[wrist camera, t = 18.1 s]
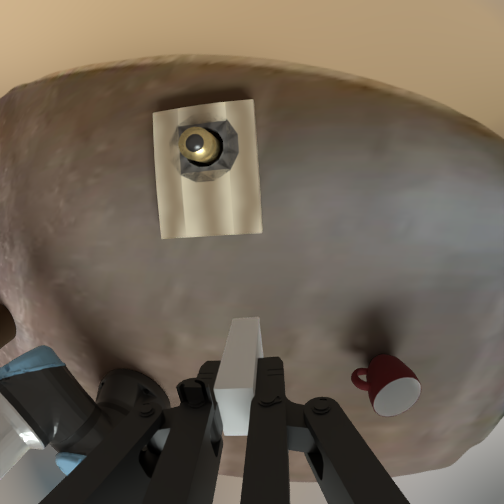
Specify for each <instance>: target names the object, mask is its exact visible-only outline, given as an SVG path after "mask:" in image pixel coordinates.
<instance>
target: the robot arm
mask: <svg viewBox="0 0 504 504" xmlns="http://www.w3.org/2000/svg"><path fill="white" fill-rule="evenodd" d="M176 388H177V391H178V395H179V398H180V401H181V403H180V406H178V407H174V408H171V406H170V402H169V400H168V398H167V396H166V394H165V393H164V391H163V390H162V389H161V388H160V387H159V386H158V385H157V384H156V383H155V382H154V381H152V380H151V379H150V378H148V377H146V376H145V375H143V374H141V373H138V372H136V371H133V370H129V369H115V370H112V371H110V372H109V373H108V374H107V375H106V376H105V377H104V378H103V380H102V381H101V383H100V385H99V389H98V393H97V397H96V402H94V400H93V399H92V398H91V397H90V396H89V395H88V394H87V392H86V391H85V390H84V389H83V388H82V386H81V385H80V384H79V383H78V381H77V380H76V379H75V377H74V376H73V375H72V374H71V372H70V371H69V370H68V368H67V367H66V364H65V363H63V362H62V361H61V360H60V359H59V357H58V356H57V355H56V353H55V352H54V351H53V350H52V349H51V348H50V347H48V346H45V345H42V346H38V347H36V348H34V349H32V350H30V351H28V352H26V353H24V354H23V355H21V356H19V357H17V358H16V359H14V360H12V361H11V362H9V363H8V364H6V365H4V366H3V367H1V368H0V480H1V479H2V478H3V477H4V476H5V474H6V473H7V472H8V471H9V470H10V469H11V468H12V467H13V466H14V465H15V464H16V463H17V461H18V460H19V459H20V458H21V457H22V456H23V455H24V454H25V453H26V452H27V451H28V450H29V449H31V448H34V449H44V448H45V447H46V446H47V445H48V444H50V445H51V446H52V447H53V448H54V449H55V450H56V451H57V452H58V453H57V455H56V460H55V461H56V464H57V465H58V467H59V469H60V470H61V471H62V472H64V473H65V474H66V475H67V476H66V477H65V478H64V479H63V480H62V481H61V482H60V483H59V484H58V485H57V486H56V487H55V488H54V489H53V490H52V491H51V492H50V493H49V494H48V495H47V496H46V497H45V498H44V499H43V500H42V501H41V502H40V503H39V504H212V502H213V497H214V492H215V486H216V481H217V476H218V470H219V465H220V459H221V453H222V448H223V440H222V436H221V435H222V430H223V431H224V435H225V436H239V435H248V436H247V446H246V456H245V465H244V474H243V483H242V492H241V502H240V504H290V484H289V456H288V453H289V452H288V450H293V451H299V452H304V454H305V456H306V459H307V461H308V463H309V465H310V467H311V469H312V471H313V473H314V476H315V478H316V480H317V482H318V484H319V486H320V488H321V490H322V492H323V494H324V496H325V498H326V501H327V503H328V504H410V503H409V501H408V500H407V499H406V498H405V496H404V495H403V494H402V492H401V491H400V489H399V488H398V486H397V485H396V484H395V482H394V481H393V480H392V478H391V477H390V475H389V474H388V473H387V471H386V470H385V469H384V467H383V466H382V464H381V463H380V462H379V460H378V459H377V457H376V456H375V455H374V453H373V452H372V451H371V449H370V448H369V446H368V445H367V444H366V442H365V441H364V439H363V438H362V437H361V435H360V434H359V432H358V431H357V430H356V428H355V427H354V425H353V424H352V422H351V421H350V420H349V418H348V417H347V415H346V414H345V413H344V411H343V410H342V408H341V407H340V405H339V404H338V403H337V402H336V401H335V400H334V399H331V398H329V397H317V398H314V399H311V400H309V401H308V402H307V403H306V404H305V405H302V404H296V403H293V402H291V401H290V400H288V399H287V397H286V396H285V382H284V369H283V361H282V360H281V359H280V358H279V357H266V358H263V349H262V340H261V331H260V322H259V317H248V318H234V319H232V323H231V327H230V330H229V334H228V338H227V341H226V345H225V348H224V352H223V356H222V359H221V361H206V362H205V363H204V364H203V365H202V366H201V368H200V370H199V374H198V376H197V378H189V379H186V380H183V381H182V382H180V383H179V384H178V385H177V387H176ZM145 445H146V446H145Z"/></svg>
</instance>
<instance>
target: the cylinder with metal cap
mask: <svg viewBox="0 0 504 504" xmlns="http://www.w3.org/2000/svg"><path fill="white" fill-rule="evenodd" d="M178 146H179V150H180V152H181V154H182V155H183V156H184V157H186V158H188V159H191V160H195V161H198V162H202V163H206V164H211V163H214V162H216V161H217V160H218V159H219V158H220V156H221V154H222V152H223V147H222V144H221V142H220V141H219V140H218V139H217V138H216V137H214V136H213V135H212V134H210V133H209V132H208V131H207V130H205V129H204V128H201V127H191V128H188V129H187V130H185V131H184V132H183V133H182V134H181V136H180V138H179V143H178Z"/></svg>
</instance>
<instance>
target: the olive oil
mask: <svg viewBox="0 0 504 504" xmlns="http://www.w3.org/2000/svg"><path fill="white" fill-rule="evenodd" d="M15 335H16V326H15V323H14V320H13V318H12V316H11V314H10V312H9V311H8V309H7V308H6V307H5V306H4V305H2V304H0V349H1V348H2V347H3V346H4V345H6V344H7V343H8V342H10V341H11V340H12V339H13V338H14V337H15Z"/></svg>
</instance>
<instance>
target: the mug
mask: <svg viewBox="0 0 504 504" xmlns="http://www.w3.org/2000/svg"><path fill="white" fill-rule="evenodd" d="M358 375H366V378H367V382H365V381H363V380H361V379H360V378H359V377H358ZM351 380H352V382H353V384H354V385H355V386H356V387H357V388H359V389H361V390H366V391H368V394H369V399H370V402H371V404H372V407H373V409H374V411H375V412H376V413H377V414H378V415H380V416H384V417H392V416H396V415H399V414H401V413H403V412H405V411H407V410H408V409H409V408H411V407H412V406H413V405H414V404H415V403H416V401H417V400H418V398H419V396H420V394H421V384H420V382H419V380H418V378H417V377H416V375H415V374H414V372H413V371H412V370H411V369H410V368H409V367H407V366H406V365H405V364H404V363H403V362H402V361H401V360H399V359H398V358H397V357H395V356H391V355H386V354H381V355H378V356H376V357H374V358H373V359H372V361H371V362H370V365H369V367H368V368H358V369H356V370H355V371H354V372H353V373H352V376H351Z"/></svg>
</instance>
